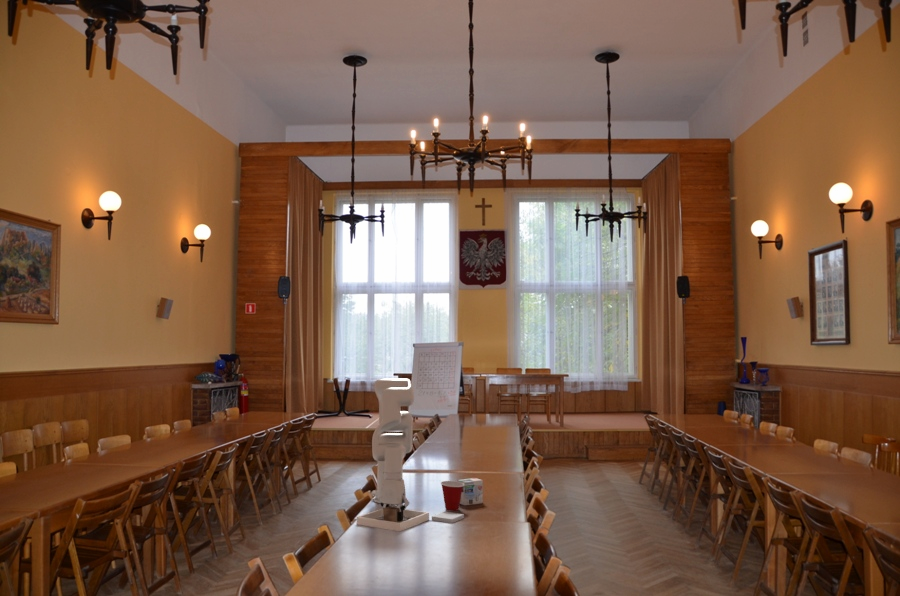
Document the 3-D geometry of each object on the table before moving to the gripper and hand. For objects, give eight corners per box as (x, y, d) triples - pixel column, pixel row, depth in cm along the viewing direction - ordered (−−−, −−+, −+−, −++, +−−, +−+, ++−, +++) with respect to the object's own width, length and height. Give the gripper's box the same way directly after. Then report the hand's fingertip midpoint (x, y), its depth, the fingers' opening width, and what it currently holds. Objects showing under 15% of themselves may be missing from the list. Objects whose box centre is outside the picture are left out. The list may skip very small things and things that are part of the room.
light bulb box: (464, 505, 324) (464, 482, 325) (456, 503, 330) (456, 479, 330) (483, 503, 329) (483, 479, 330) (475, 500, 335) (475, 477, 336)
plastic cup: (462, 513, 309) (461, 485, 310) (438, 511, 312) (438, 484, 313) (467, 507, 320) (466, 480, 321) (443, 506, 322) (443, 479, 323)
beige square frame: (356, 524, 290) (356, 516, 290) (387, 513, 308) (387, 506, 308) (400, 531, 279) (400, 523, 279) (429, 519, 297) (429, 512, 297)
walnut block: (383, 522, 292) (383, 508, 293) (391, 519, 297) (391, 505, 298) (395, 524, 289) (395, 509, 290) (403, 521, 294) (403, 506, 295)
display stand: (431, 520, 297) (431, 516, 297) (443, 515, 305) (443, 511, 305) (452, 522, 292) (452, 519, 292) (464, 517, 300) (464, 514, 300)
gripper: (371, 475, 296) (371, 519, 295) (405, 479, 287) (405, 524, 286) (382, 472, 302) (381, 515, 301) (415, 476, 294) (415, 520, 292)
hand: (393, 519), depth 293 cm, fingers closed on walnut block, 6 cm apart
